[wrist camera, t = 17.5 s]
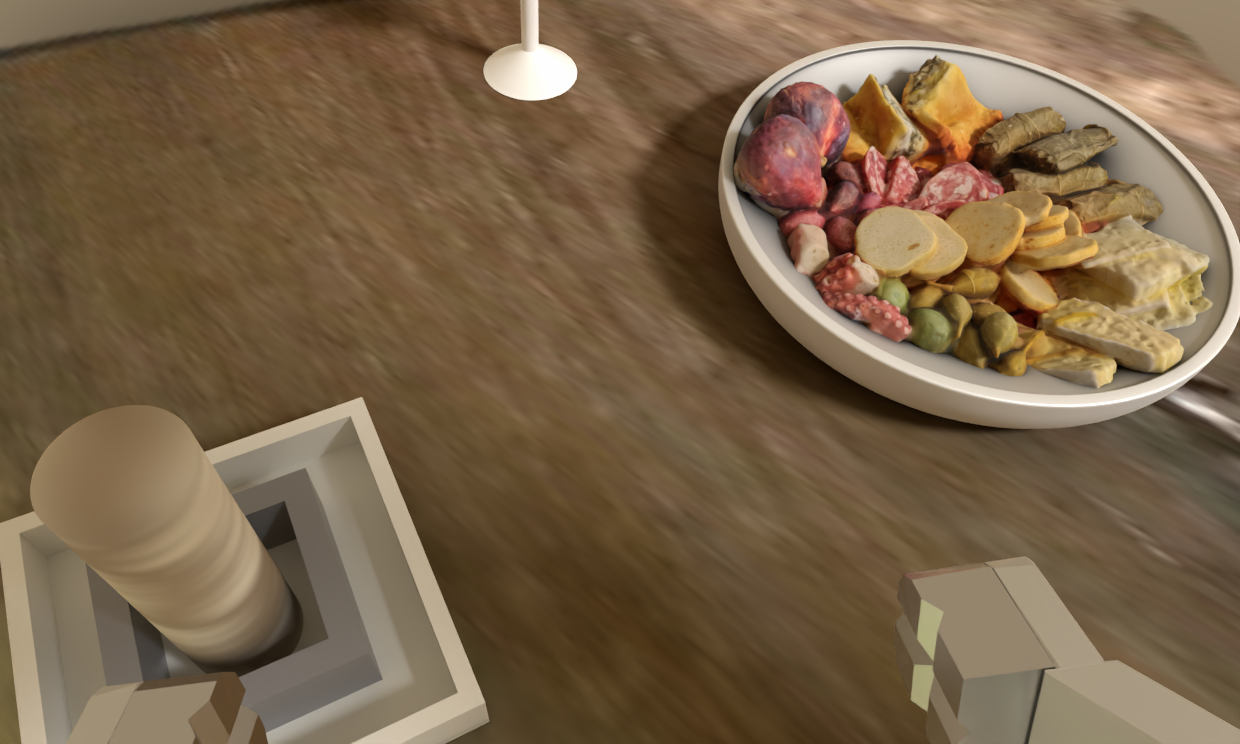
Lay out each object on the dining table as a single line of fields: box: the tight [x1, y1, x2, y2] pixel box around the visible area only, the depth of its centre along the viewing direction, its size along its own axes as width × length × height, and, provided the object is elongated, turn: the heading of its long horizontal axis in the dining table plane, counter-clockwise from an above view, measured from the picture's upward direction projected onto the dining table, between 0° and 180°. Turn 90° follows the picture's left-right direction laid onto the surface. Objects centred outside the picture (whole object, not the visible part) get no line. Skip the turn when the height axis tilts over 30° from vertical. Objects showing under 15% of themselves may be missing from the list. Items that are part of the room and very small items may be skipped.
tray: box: [0, 397, 489, 744], centre depth 35 cm, size 16×16×4 cm
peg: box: [30, 405, 303, 677], centre depth 31 cm, size 4×4×14 cm
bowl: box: [718, 40, 1240, 429], centre depth 51 cm, size 30×30×8 cm
